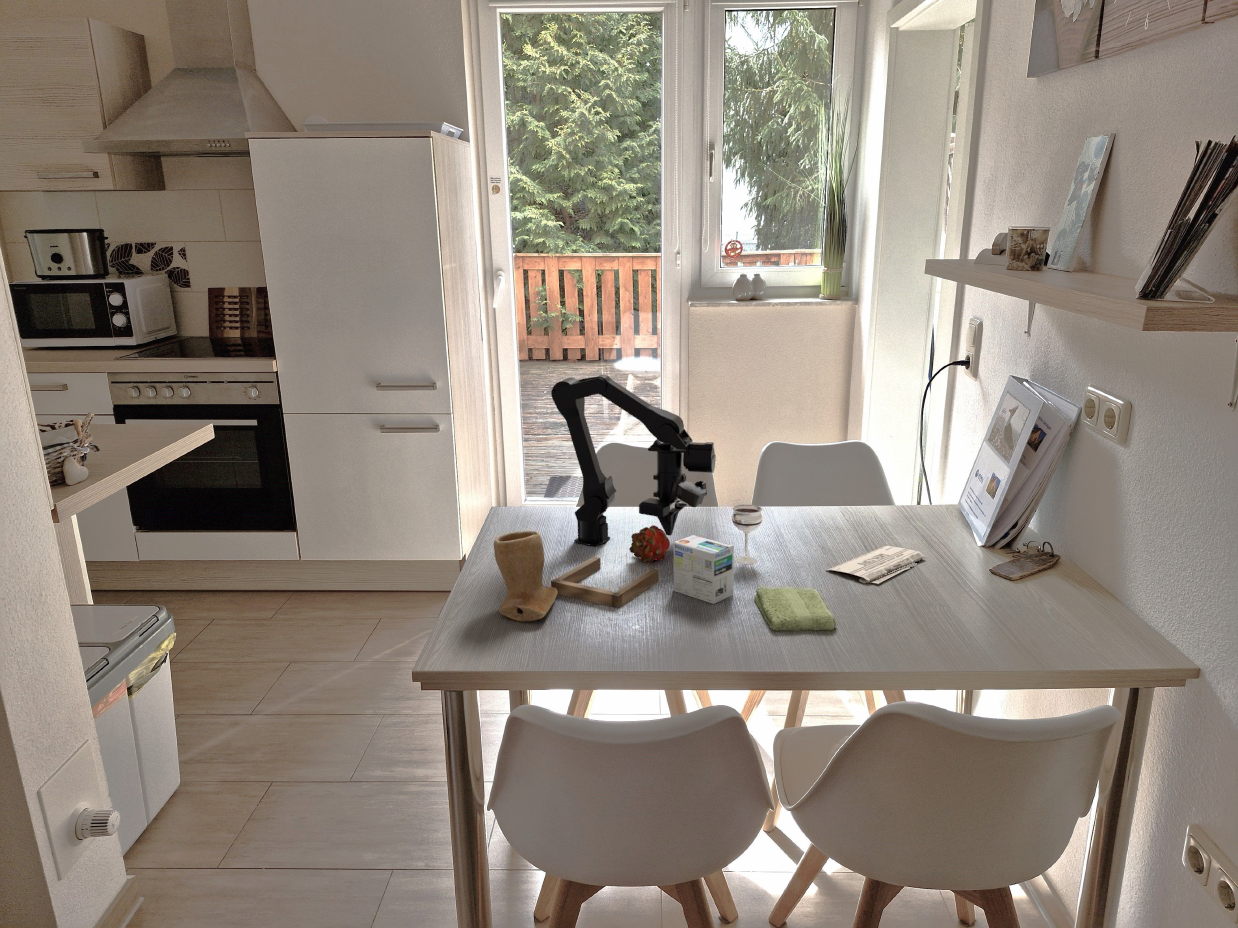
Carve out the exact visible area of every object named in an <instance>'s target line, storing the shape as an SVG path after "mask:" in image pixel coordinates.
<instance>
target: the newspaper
mask: <svg viewBox="0 0 1238 928" xmlns="http://www.w3.org/2000/svg"><path fill="white" fill-rule="evenodd" d="M925 557H926V556H925V555H924V554H923V553H922V552H921V551H918V550H913V549H910V548H909V549H908V548H904V547H898V546H892V545H884V546H881V547H879V548H876V549H874V550H872V551H869V552H867V553H865V554H862V555H859V556H857V557H855V558H852V559H849V560H847V561H845V562H842V563H839V564H838V565H835V566H833V567H831V568H828V569H826V570H825V571H826V572H831V571H835V572H841V573H846V574H850V575H854V576H858V577H860V579H859V580H858V582H861V583H863V584H871V583H873V584H877V585H879V584H881V583H883V582H884V581H886V580H888V579H890V578H892V577H894V576H896V575H898V574H900V573H902V572H903V571H906V570H909V569H911V568H910V566H908V567H905V568H903V569H900V570H897V569H899V568H902V567H904V566H907V565H909V564H912V563H914V562H918V561H919V562H920V561H921V559H922V560H924V559H926V558H925ZM894 570H897V571H895V572H893V573H890V572H892V571H894ZM888 573H890V574H888ZM885 574H887V575H885ZM881 576H882V577H881ZM879 577H880V578H879ZM877 578H878V579H877ZM870 581H871V582H870Z"/></svg>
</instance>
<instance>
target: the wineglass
mask: <svg viewBox="0 0 1238 928" xmlns="http://www.w3.org/2000/svg"><path fill="white" fill-rule="evenodd" d="M731 509H732V511H733V512H732V514H731V522H732V523H733V525H734V526H735V528H737V529H738V530H739V531H742V532H743V534H744V556H743V555H742V556H741V555H740V556H738V557H735V558H734V562H736V563H738V564H742V565H751V564H756V563H757V562H758V559H757V558H756V557H753V556H748V545H749V544H748V543H749V534H750V533H751V532H753V531H755V530H757V529H758V528H759V527H760V526H761V524H762V522H763V517H764V516H763V514H762V511H763V507H761V506H759V505H757V504H756V505H755V504H747V503H746V504H737V505H734V506H733V507H732V508H731Z"/></svg>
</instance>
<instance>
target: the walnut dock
mask: <svg viewBox="0 0 1238 928" xmlns="http://www.w3.org/2000/svg"><path fill="white" fill-rule="evenodd" d="M601 564H602V563H601V557H599V556H593V557H591V558H590V559H588V560H586V561H584V562H582V563H581V564H579V565H578V566H575V567H573V568H572V569H570V570H568V571H566V572H565V573H563V574H561V575H559V576H557V577H556V578H553V579H552V580H551V581H550V587H553V588H556V589H557V592H558V593H557V595H561V596H565V597H569V598H573V599H578V600H581V601H585V602H590V603H594V604H598V605H599V604H600V605H602V606H603V605H604V606H607V607H612V608H617V609H620V608H621V607H623V606H624V605H625V604H627V603H629V602H630V601H631V600H633V599H634V598H636V597H637V596H639V595H640V594H641V593H643V592H644V591H646V590H648V589H649V588H651V587H652V586H653V585H655V584H656V583H658V582H659V581H660V570H659V569H658V568H651V569H649V570H648V571H647V572H644V573H643V574H641V575H640V576H638V577H637V578H635V579H634V580H632V581H631V582H629V583H628V584H626V585H625V586H623V587H621V588H620V589H618V590H617V591H612V590H606V589H602V588H598V587H594V586H589V585H586V584H580V583H579V582H580V581H582V580H584V579H586V578H587V577H589V576H590V575H592V574H594V573H595V572H597V571H599V570H601Z"/></svg>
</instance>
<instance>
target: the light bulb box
mask: <svg viewBox="0 0 1238 928" xmlns="http://www.w3.org/2000/svg"><path fill="white" fill-rule="evenodd" d="M734 546H735V545H734V544H733V545H732V544H729V543H725V542H721V541H716V540H712V539H708V538H706V537H701V536H697V535H696V534H692V535H689V536H688V537H687V536H686V537H685V538H681V539H679V540H676V541H673V591H674V592H676V593H679V594H683V595H686V596H689V597H692V598H695V599H697V600H700V601H704V602H706V603H709V604H711V605H714V604H715V605H716V604H717V603H719V602H721V601H723V600H725V599H728V598H729V597H732V596H733V595H734V562H735V558H734V557H735V555H734V553H735V551H734V550H735V548H734Z"/></svg>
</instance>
